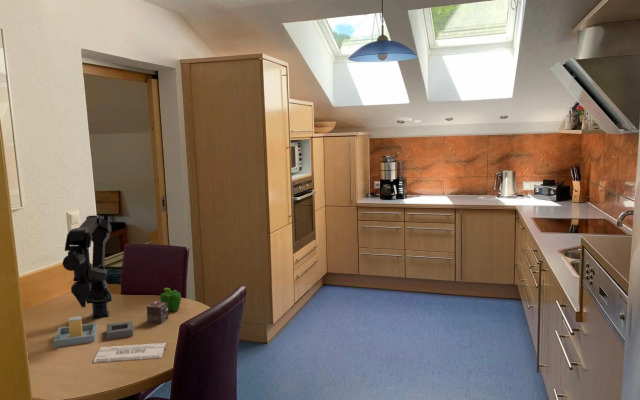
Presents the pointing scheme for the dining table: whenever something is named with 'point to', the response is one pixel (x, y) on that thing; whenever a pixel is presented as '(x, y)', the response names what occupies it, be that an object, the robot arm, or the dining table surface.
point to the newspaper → (129, 352)
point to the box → (157, 312)
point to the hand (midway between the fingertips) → (84, 302)
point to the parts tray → (65, 340)
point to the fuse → (75, 327)
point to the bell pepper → (171, 299)
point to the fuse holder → (119, 330)
